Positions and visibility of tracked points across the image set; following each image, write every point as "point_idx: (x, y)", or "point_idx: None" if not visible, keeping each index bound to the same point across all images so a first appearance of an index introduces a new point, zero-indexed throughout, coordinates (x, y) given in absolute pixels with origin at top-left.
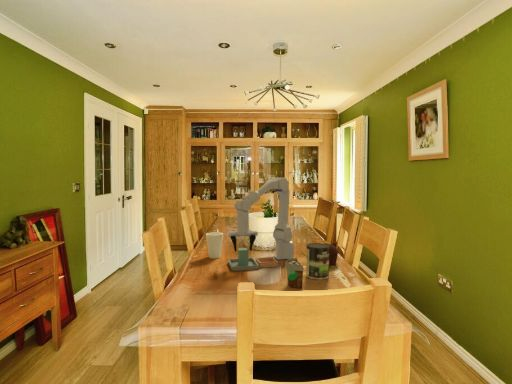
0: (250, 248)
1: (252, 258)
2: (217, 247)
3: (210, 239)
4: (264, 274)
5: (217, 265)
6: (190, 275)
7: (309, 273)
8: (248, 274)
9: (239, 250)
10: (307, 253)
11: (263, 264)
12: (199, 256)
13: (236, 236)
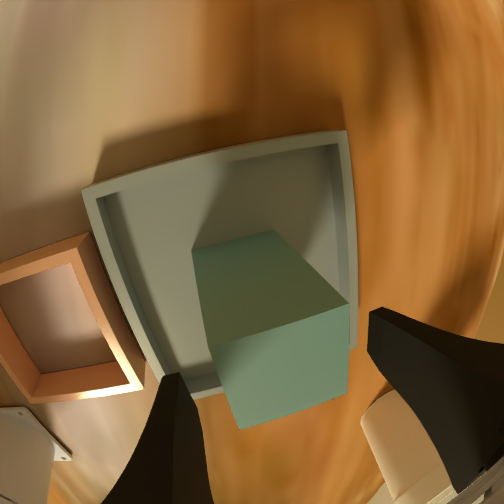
0: (179, 391)
1: None
2: (412, 434)
3: None
4: (55, 45)
5: (407, 275)
6: (499, 103)
7: None
8: (190, 31)
9: (348, 303)
10: None
11: (51, 251)
12: None
13: (491, 467)
